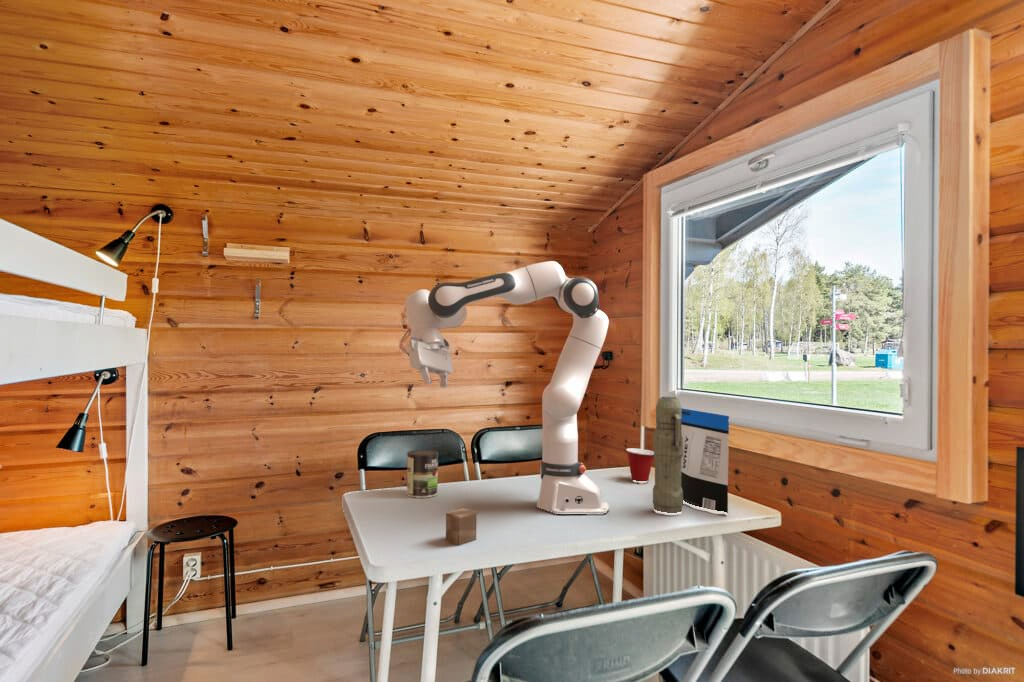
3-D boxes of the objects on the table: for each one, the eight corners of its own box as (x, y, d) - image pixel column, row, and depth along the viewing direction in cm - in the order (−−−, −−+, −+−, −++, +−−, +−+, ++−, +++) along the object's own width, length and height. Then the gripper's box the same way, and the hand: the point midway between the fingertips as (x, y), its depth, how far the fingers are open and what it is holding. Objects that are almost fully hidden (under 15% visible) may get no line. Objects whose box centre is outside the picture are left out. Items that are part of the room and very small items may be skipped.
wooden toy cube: (445, 541, 150) (446, 512, 150) (463, 535, 155) (463, 508, 155) (458, 545, 147) (459, 516, 147) (476, 539, 152) (476, 511, 152)
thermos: (667, 505, 187) (668, 395, 188) (691, 515, 176) (693, 398, 177) (643, 508, 184) (645, 395, 184) (667, 518, 173) (669, 399, 173)
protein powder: (714, 517, 175) (715, 416, 175) (666, 497, 197) (667, 408, 198) (740, 515, 178) (741, 415, 178) (689, 495, 201) (690, 407, 201)
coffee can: (444, 493, 199) (444, 451, 199) (424, 500, 190) (424, 456, 190) (420, 489, 204) (421, 448, 204) (400, 495, 195) (400, 452, 195)
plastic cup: (658, 485, 214) (659, 452, 214) (629, 485, 214) (629, 452, 214) (651, 479, 225) (651, 447, 225) (623, 478, 225) (623, 447, 225)
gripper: (418, 331, 167) (427, 377, 163) (452, 344, 186) (461, 386, 182) (399, 338, 169) (408, 384, 165) (435, 350, 187) (443, 392, 184)
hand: (436, 385), depth 173 cm, fingers open, 8 cm apart
